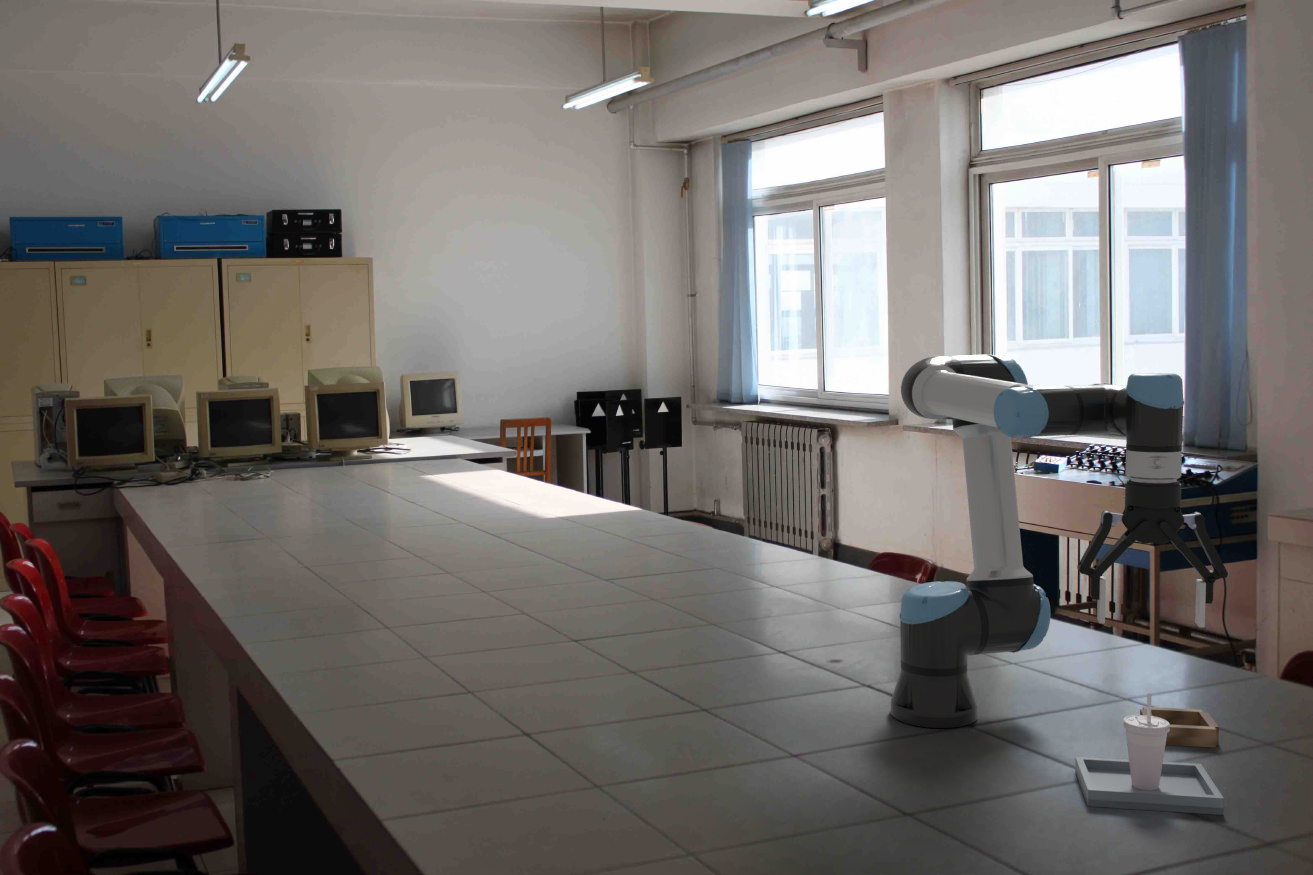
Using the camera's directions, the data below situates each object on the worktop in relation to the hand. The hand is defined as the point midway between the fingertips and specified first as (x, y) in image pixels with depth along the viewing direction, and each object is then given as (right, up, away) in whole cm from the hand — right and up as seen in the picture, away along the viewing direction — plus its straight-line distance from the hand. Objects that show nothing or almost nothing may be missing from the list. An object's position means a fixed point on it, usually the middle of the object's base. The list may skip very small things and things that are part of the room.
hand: (1150, 623), depth 175 cm
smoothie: (-1, -24, 0) cm, 24 cm away
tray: (-1, -25, 0) cm, 25 cm away
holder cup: (+15, -23, +26) cm, 37 cm away
